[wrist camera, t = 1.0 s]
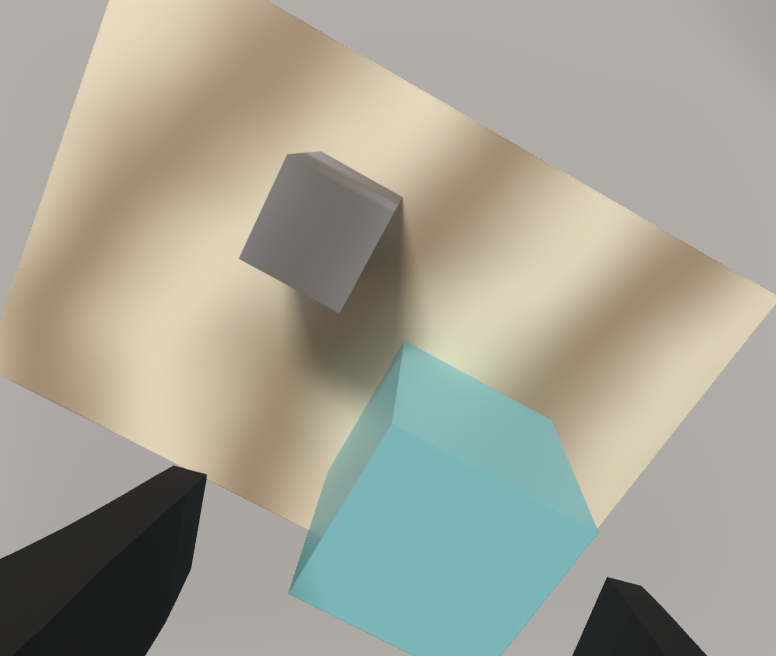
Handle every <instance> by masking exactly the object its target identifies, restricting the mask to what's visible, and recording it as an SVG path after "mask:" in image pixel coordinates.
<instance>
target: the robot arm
mask: <svg viewBox="0 0 776 656" xmlns="http://www.w3.org/2000/svg"><path fill="white" fill-rule="evenodd" d="M206 479H207V474H204V473H200V472H196V471H193V470H189V469H185V468H180V467H177V466H172V467H170V468H168V469H167V470H165V471H163V472H161V473H160V474H158V475H156V476H154V477H153V478H151V479H149V480H147V481H146V482H144V483H142V484H141V485H139V486H137V487H136V488H134V489H132V490H130V491H129V492H127V493H125V494H124V495H122V496H120V497H118V498H117V499H115V500H113V501H111V502H110V503H108V504H106V505H104V506H103V507H101V508H99V509H97V510H96V511H94V512H92V513H90V514H89V515H86V516H85V517H83V518H81V519H79V520H77V521H76V522H74V523H72V524H70V525H68V526H66V527H64V528H63V529H61V530H58V531H56V532H55V533H53V534H51V535H48V536H46V537H45V538H43V539H41V540H38V541H36V542H34V543H32V544H31V545H29V546H26V547H25V548H22V549H21V550H19V551H16V552H14V553H12V554H10V555H8V556H6V557H3V558H1V559H0V656H145V655H146V654H147V652H148V650H149V649H150V647H151V646H152V644H153V642H154V641H155V639H156V637H157V636H158V634H159V632H160V631H161V629H162V627H163V625H164V624H165V622H166V620H167V618H168V616H169V614H170V612H171V610H172V608H173V606H174V604H175V602H176V600H177V598H178V595H179V593H180V591H181V589H182V587H183V585H184V582H185V581H186V578H187V576H188V574H189V572H190V570H191V566H192V560H193V554H194V549H195V543H196V537H197V531H198V525H199V519H200V514H201V508H202V502H203V496H204V490H205V485H206ZM573 656H707V655H706V654H705V653H704V652H703V651H702V650H701V649H700V648H699V646H698V645H697V644H696V643H695V642H694V641H693V640H692V639H691V638H690V637H689V636H688V634H687V633H686V632H685V631H684V630H683V629H682V628H681V627H680V626H679V625H678V623H677V622H676V621H675V620H674V619H673V618H672V617H671V616H670V615H669V614H668V613H667V612H666V610H665V609H664V608H663V607H662V606H661V605H660V604H659V603H658V602H657V601H656V600H655V599H654V598H653V597H652V596H651V595H650V594H649V593H648V592H647V591H646V590H645V589H644V588H643V587H642V586H640V585H636V584H632V583H628V582H624V581H620V580H617V579H613V578H608V577H607V578H606V581H605V583H604V585H603V588H602V590H601V592H600V594H599V597H598V599H597V601H596V603H595V606H594V608H593V610H592V613H591V615H590V617H589V619H588V621H587V624H586V626H585V628H584V631H583V633H582V635H581V638H580V640H579V642H578V644H577V647H576V649H575V651H574V653H573Z"/></svg>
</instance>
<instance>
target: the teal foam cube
mask: <svg viewBox="0 0 776 656" xmlns="http://www.w3.org/2000/svg"><path fill="white" fill-rule="evenodd" d="M597 534H598V530H597V527H596V525H595V522H594V520H593V518H592V515H591V513H590V510H589V508H588V506H587V503H586V501H585V499H584V496H583V494H582V491H581V489H580V487H579V484H578V482H577V480H576V477H575V475H574V472H573V470H572V468H571V465H570V463H569V460H568V458H567V456H566V453H565V451H564V449H563V446H562V444H561V441H560V439H559V437H558V434H557V432H556V429H555V427H554V425H553V422H552V420H551V419H549V418H547V417H545V416H543V415H541V414H540V413H538V412H536V411H534V410H532V409H530V408H528V407H527V406H525V405H523V404H521V403H519V402H517V401H515V400H514V399H512V398H510V397H508V396H506V395H504V394H503V393H501V392H499V391H497V390H495V389H493V388H491V387H490V386H488V385H486V384H484V383H482V382H480V381H478V380H477V379H475V378H473V377H471V376H469V375H467V374H465V373H464V372H462V371H460V370H458V369H456V368H454V367H453V366H451V365H449V364H447V363H445V362H443V361H441V360H440V359H438V358H436V357H434V356H432V355H430V354H428V353H427V352H425V351H423V350H421V349H419V348H417V347H415V346H414V345H412V344H410V343H408V342H406V341H404V342H403V344H402V346H401V347H400V349H399V351H398V352H397V354H396V356H395V358H394V359H393V361H392V363H391V364H390V366H389V368H388V370H387V371H386V373H385V375H384V376H383V378H382V380H381V381H380V383H379V385H378V387H377V388H376V390H375V392H374V393H373V395H372V397H371V398H370V400H369V402H368V404H367V405H366V407H365V409H364V410H363V412H362V414H361V416H360V417H359V419H358V421H357V422H356V424H355V426H354V427H353V429H352V431H351V433H350V434H349V436H348V438H347V439H346V441H345V443H344V444H343V446H342V448H341V450H340V451H339V453H338V455H337V456H336V458H335V460H334V461H333V463H332V465H331V467H330V468H329V470H328V472H327V475H326V479H325V482H324V485H323V488H322V491H321V494H320V497H319V500H318V503H317V506H316V509H315V513H314V516H313V519H312V522H311V525H310V528H309V531H308V534H307V537H306V540H305V543H304V547H303V550H302V553H301V556H300V559H299V562H298V565H297V569H296V572H295V574H294V577H293V581H292V584H291V587H290V590H289V594H290V595H292V596H294V597H296V598H298V599H300V600H302V601H304V602H307V603H308V604H310V605H312V606H314V607H316V608H318V609H320V610H322V611H324V612H326V613H328V614H330V615H332V616H335V617H336V618H339V619H341V620H343V621H345V622H347V623H349V624H351V625H353V626H355V627H357V628H359V629H361V630H363V631H365V632H367V633H369V634H371V635H373V636H375V637H377V638H379V639H381V640H383V641H385V642H387V643H389V644H391V645H393V646H396V647H398V648H399V649H401V650H403V651H405V652H408V653H410V654H412V655H414V656H501V655H502V654H503V652H504V651H505V650H506V648H507V647H508V646H509V645H510V644H511V642H512V641H513V640H514V639H515V637H516V636H517V635H518V633H519V632H520V631H521V630H522V628H523V627H524V626H525V625H526V623H527V622H528V621H529V620H530V618H531V617H532V616H533V615H534V613H535V612H536V611H537V610H538V608H539V607H540V606H541V604H542V603H543V602H544V601H545V600H546V598H547V597H548V596H549V594H550V593H551V592H552V591H553V589H554V588H555V587H556V586H557V584H558V583H559V582H560V581H561V579H562V578H563V577H564V576H565V574H566V573H567V572H568V571H569V569H570V568H571V567H572V566H573V564H574V563H575V562H576V560H577V559H578V558H579V557H580V556H581V554H582V553H583V552H584V550H585V549H586V548H587V547H588V545H589V544H590V543H591V542H592V540H593V539H594V538H595V537H596V535H597Z"/></svg>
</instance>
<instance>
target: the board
mask: <svg viewBox="0 0 776 656" xmlns="http://www.w3.org/2000/svg"><path fill="white" fill-rule="evenodd" d="M775 304H776V295H774V294H773V293H771V292H769V291H768V290H766V289H764V288H762V287H761V286H759V285H757V284H755V283H754V282H752V281H750V280H749V279H747V278H745V277H743V276H742V275H740V274H738V273H736V272H734V271H733V270H731V269H729V268H728V267H726V266H724V265H723V264H721V263H719V262H717V261H716V260H714V259H712V258H710V257H709V256H707V255H705V254H704V253H702V252H700V251H698V250H697V249H695V248H693V247H692V246H690V245H688V244H686V243H685V242H683V241H681V240H679V239H678V238H676V237H674V236H673V235H671V234H669V233H668V232H666V231H664V230H662V229H661V228H659V227H657V226H655V225H654V224H652V223H650V222H649V221H647V220H645V219H643V218H642V217H640V216H638V215H636V214H635V213H633V212H631V211H630V210H628V209H626V208H624V207H623V206H621V205H619V204H617V203H616V202H614V201H612V200H610V199H609V198H607V197H605V196H604V195H602V194H600V193H598V192H597V191H595V190H593V189H591V188H590V187H588V186H586V185H585V184H583V183H581V182H580V181H578V180H576V179H574V178H573V177H571V176H569V175H567V174H566V173H564V172H562V171H560V170H559V169H557V168H555V167H554V166H552V165H550V164H548V163H546V162H545V161H543V160H542V159H540V158H538V157H536V156H535V155H533V154H531V153H529V152H528V151H526V150H524V149H523V148H521V147H519V146H517V145H516V144H514V143H512V142H510V141H509V140H507V139H505V138H504V137H502V136H500V135H498V134H497V133H495V132H493V131H491V130H490V129H488V128H486V127H485V126H483V125H481V124H479V123H478V122H476V121H474V120H473V119H471V118H469V117H467V116H465V115H464V114H462V113H460V112H459V111H457V110H455V109H453V108H452V107H450V106H448V105H447V104H445V103H443V102H441V101H440V100H438V99H436V98H434V97H433V96H431V95H429V94H428V93H426V92H424V91H422V90H420V89H419V88H417V87H416V86H414V85H412V84H410V83H409V82H407V81H405V80H403V79H402V78H400V77H398V76H397V75H395V74H393V73H391V72H390V71H388V70H386V69H385V68H383V67H381V66H379V65H378V64H376V63H374V62H372V61H371V60H369V59H367V58H366V57H364V56H362V55H360V54H359V53H357V52H355V51H353V50H352V49H350V48H348V47H347V46H344V45H343V44H341V43H340V42H338V41H336V40H334V39H333V38H331V37H329V36H328V35H326V34H324V33H322V32H321V31H319V30H317V29H315V28H314V27H312V26H310V25H309V24H307V23H305V22H303V21H302V20H300V19H298V18H296V17H295V16H293V15H291V14H290V13H288V12H286V11H284V10H283V9H281V8H279V7H278V6H276V5H274V4H272V3H271V2H269V1H267V0H110V1H109V3H108V6H107V9H106V12H105V15H104V18H103V21H102V24H101V27H100V30H99V33H98V36H97V39H96V42H95V45H94V48H93V50H92V53H91V57H90V59H89V62H88V65H87V68H86V71H85V74H84V77H83V80H82V83H81V86H80V88H79V92H78V94H77V97H76V100H75V103H74V106H73V109H72V112H71V115H70V118H69V121H68V124H67V127H66V130H65V133H64V135H63V138H62V142H61V144H60V147H59V150H58V153H57V156H56V159H55V162H54V165H53V168H52V171H51V174H50V177H49V180H48V182H47V185H46V188H45V191H44V194H43V197H42V200H41V203H40V206H39V209H38V212H37V215H36V218H35V221H34V223H33V227H32V229H31V232H30V235H29V238H28V241H27V244H26V247H25V250H24V253H23V256H22V259H21V262H20V265H19V268H18V270H17V274H16V277H15V280H14V282H13V285H12V288H11V291H10V294H9V297H8V300H7V303H6V306H5V309H4V312H3V315H2V317H1V320H0V375H1V376H3V377H5V378H7V379H9V380H11V381H13V382H15V383H17V384H19V385H21V386H23V387H25V388H27V389H29V390H31V391H33V392H35V393H37V394H39V395H40V396H42V397H45V398H46V399H49V400H50V401H52V402H54V403H56V404H58V405H60V406H62V407H64V408H66V409H68V410H70V411H73V412H74V413H76V414H78V415H80V416H82V417H84V418H86V419H88V420H90V421H92V422H94V423H96V424H98V425H100V426H102V427H104V428H106V429H108V430H110V431H112V432H114V433H116V434H118V435H120V436H122V437H124V438H126V439H128V440H130V441H132V442H134V443H136V444H138V445H140V446H142V447H144V448H146V449H148V450H150V451H152V452H154V453H156V454H158V455H160V456H162V457H164V458H166V459H168V460H170V461H172V462H173V463H176V464H177V465H180V466H182V467H183V468H185V469H189V470H193V471H196V472H200V473H204V474H207V480H209V481H211V482H214V483H215V484H217V485H219V486H221V487H223V488H225V489H227V490H229V491H231V492H233V493H235V494H237V495H239V496H241V497H243V498H245V499H247V500H249V501H251V502H253V503H255V504H257V505H259V506H261V507H263V508H265V509H267V510H269V511H271V512H273V513H275V514H277V515H279V516H281V517H283V518H285V519H287V520H289V521H291V522H293V523H295V524H297V525H299V526H301V527H303V528H305V529H307V530H308V531H309V528H310V525H311V522H312V519H313V516H314V513H315V509H316V506H317V503H318V500H319V497H320V494H321V491H322V488H323V485H324V482H325V479H326V475H327V472H328V470H329V468H330V467H331V465H332V463H333V461H334V460H335V458H336V456H337V455H338V453H339V451H340V450H341V448H342V446H343V444H344V443H345V441H346V439H347V438H348V436H349V434H350V433H351V431H352V429H353V427H354V426H355V424H356V422H357V421H358V419H359V417H360V416H361V414H362V412H363V410H364V409H365V407H366V405H367V404H368V402H369V400H370V398H371V397H372V395H373V393H374V392H375V390H376V388H377V387H378V385H379V383H380V381H381V380H382V378H383V376H384V375H385V373H386V371H387V370H388V368H389V366H390V364H391V363H392V361H393V359H394V358H395V356H396V354H397V352H398V351H399V349H400V347H401V346H402V344H403V342H404V341H406V342H408V343H410V344H412V345H414V346H415V347H417V348H419V349H421V350H423V351H425V352H427V353H428V354H430V355H432V356H434V357H436V358H438V359H440V360H441V361H443V362H445V363H447V364H449V365H451V366H453V367H454V368H456V369H458V370H460V371H462V372H464V373H465V374H467V375H469V376H471V377H473V378H475V379H477V380H478V381H480V382H482V383H484V384H486V385H488V386H490V387H491V388H493V389H495V390H497V391H499V392H501V393H503V394H504V395H506V396H508V397H510V398H512V399H514V400H515V401H517V402H519V403H521V404H523V405H525V406H527V407H528V408H530V409H532V410H534V411H536V412H538V413H540V414H541V415H543V416H545V417H547V418H549V419H551V420H552V422H553V425H554V427H555V429H556V432H557V434H558V437H559V439H560V441H561V444H562V446H563V449H564V451H565V453H566V456H567V458H568V460H569V463H570V465H571V468H572V470H573V472H574V475H575V477H576V480H577V482H578V484H579V487H580V489H581V491H582V494H583V496H584V499H585V501H586V503H587V506H588V508H589V510H590V513H591V515H592V518H593V520H594V522H595V525H596V527H597V529H598V528H599V526H600V525H601V524H602V522H603V521H604V520H605V518H606V517H607V516H608V515H609V514H610V512H611V511H612V510H613V509H614V507H615V506H616V505H617V504H618V502H619V501H620V500H621V499H622V497H623V496H624V495H625V493H626V492H627V491H628V489H629V488H630V487H631V486H632V485H633V483H634V482H635V481H636V480H637V478H638V477H639V476H640V474H641V473H642V472H643V471H644V469H645V468H646V467H647V466H648V464H649V463H650V462H651V461H652V459H653V458H654V457H655V456H656V454H657V453H658V452H659V450H660V449H661V448H662V447H663V445H664V444H665V443H666V442H667V440H668V439H669V438H670V437H671V435H672V434H673V433H674V432H675V430H676V429H677V428H678V427H679V425H680V424H681V422H682V421H683V420H684V419H685V418H686V416H687V415H688V414H689V413H690V411H691V410H692V409H693V408H694V406H695V405H696V404H697V403H698V401H699V400H700V399H701V398H702V396H703V395H704V394H705V392H706V391H707V390H708V389H709V387H710V386H711V385H712V384H713V382H714V381H715V380H716V378H717V377H718V376H719V375H720V374H721V372H722V371H723V370H724V368H725V367H726V366H727V365H728V363H729V362H730V361H731V360H732V358H733V357H734V356H735V355H736V353H737V352H738V351H739V350H740V348H741V347H742V346H743V345H744V343H745V342H746V341H747V339H748V338H749V337H750V335H751V334H752V333H753V332H754V330H755V329H756V328H757V327H758V326H759V324H760V323H761V322H762V321H763V319H764V318H765V317H766V316H767V314H768V313H769V312H770V310H771V309H772V308H773V307H774V305H775Z"/></svg>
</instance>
